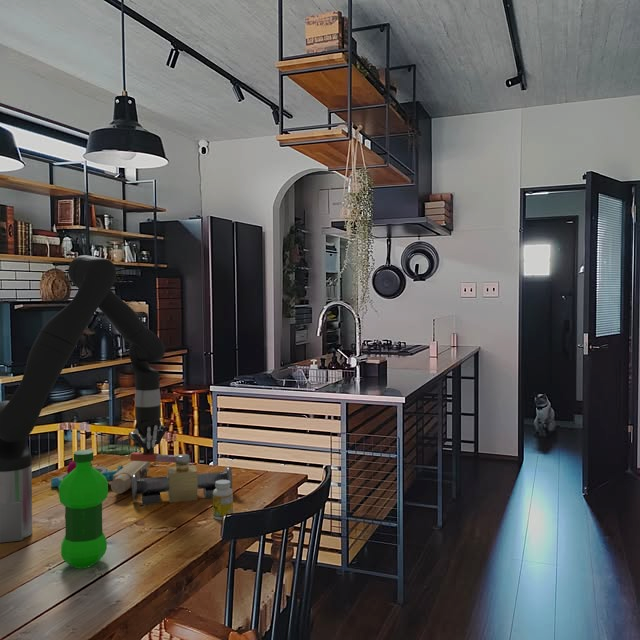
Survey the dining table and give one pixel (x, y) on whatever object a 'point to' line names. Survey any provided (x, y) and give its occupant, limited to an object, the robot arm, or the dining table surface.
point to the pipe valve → (178, 484)
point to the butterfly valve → (117, 475)
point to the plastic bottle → (83, 512)
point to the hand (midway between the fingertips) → (148, 459)
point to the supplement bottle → (222, 499)
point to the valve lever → (159, 457)
